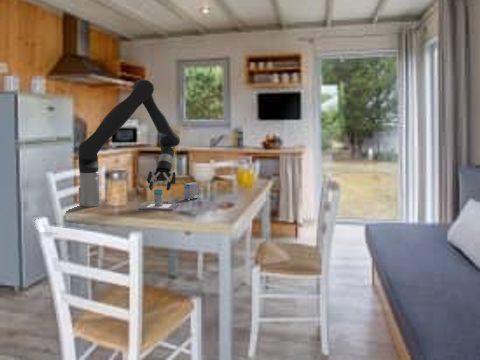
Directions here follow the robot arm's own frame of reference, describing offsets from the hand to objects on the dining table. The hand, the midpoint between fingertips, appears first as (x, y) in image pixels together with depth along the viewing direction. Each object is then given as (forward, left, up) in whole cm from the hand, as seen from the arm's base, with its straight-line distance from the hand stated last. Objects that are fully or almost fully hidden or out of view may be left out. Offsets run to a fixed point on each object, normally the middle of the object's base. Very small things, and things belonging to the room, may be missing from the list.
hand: (159, 189), depth 231 cm
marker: (0, -1, -8) cm, 8 cm away
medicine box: (+12, +24, -9) cm, 28 cm away
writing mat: (0, -1, -9) cm, 9 cm away
